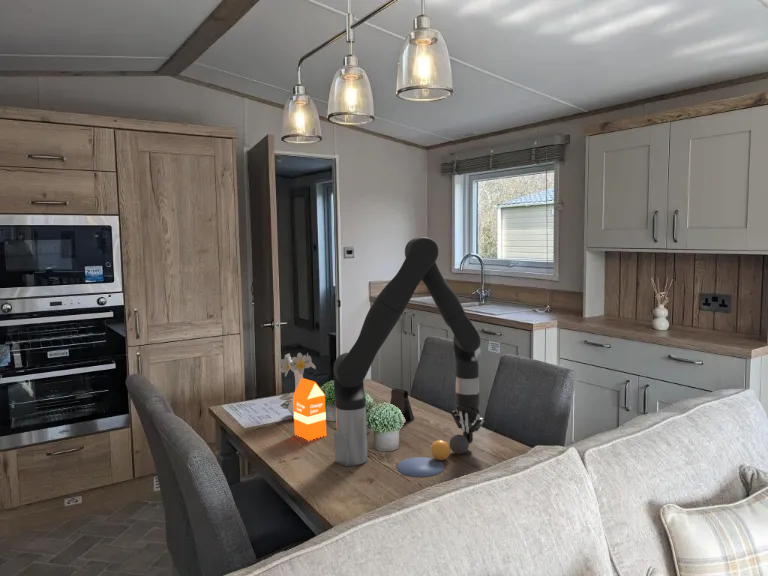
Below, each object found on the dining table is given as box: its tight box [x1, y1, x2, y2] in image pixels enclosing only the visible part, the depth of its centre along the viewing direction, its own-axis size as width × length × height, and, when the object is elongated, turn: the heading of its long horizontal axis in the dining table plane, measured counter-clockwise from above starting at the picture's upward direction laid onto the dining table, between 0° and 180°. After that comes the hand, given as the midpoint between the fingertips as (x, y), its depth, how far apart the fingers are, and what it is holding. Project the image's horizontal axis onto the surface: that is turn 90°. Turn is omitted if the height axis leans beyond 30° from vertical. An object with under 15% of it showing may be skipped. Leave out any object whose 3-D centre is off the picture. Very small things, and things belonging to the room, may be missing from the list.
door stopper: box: [389, 387, 415, 423], centre depth 208 cm, size 9×6×12 cm, turn 135°
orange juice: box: [292, 377, 327, 442], centre depth 195 cm, size 8×9×20 cm
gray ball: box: [449, 434, 470, 455], centre depth 176 cm, size 6×6×6 cm
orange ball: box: [430, 439, 451, 461], centre depth 171 cm, size 6×6×6 cm
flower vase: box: [279, 352, 317, 418], centre depth 217 cm, size 13×18×25 cm
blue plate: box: [396, 456, 445, 478], centre depth 166 cm, size 14×14×1 cm
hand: (468, 442), depth 179 cm, fingers closed
